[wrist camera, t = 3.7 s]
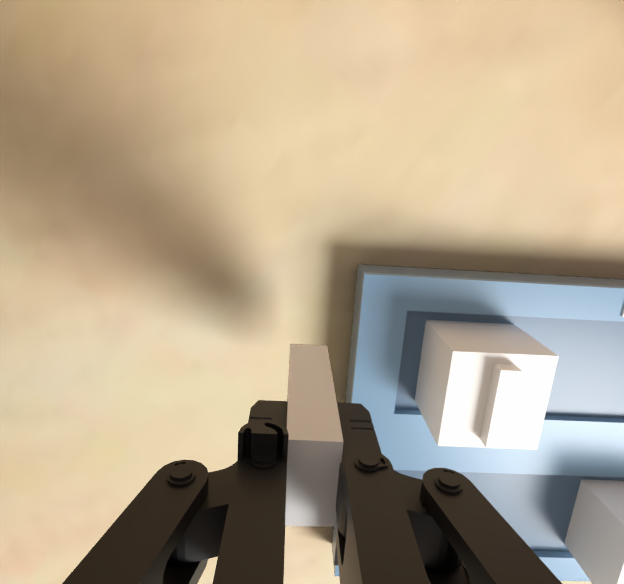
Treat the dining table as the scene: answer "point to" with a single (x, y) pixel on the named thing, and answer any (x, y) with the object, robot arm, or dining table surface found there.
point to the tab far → (598, 530)
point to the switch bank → (561, 405)
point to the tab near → (483, 384)
